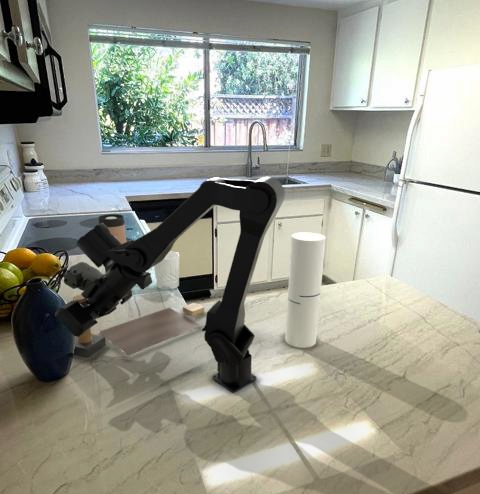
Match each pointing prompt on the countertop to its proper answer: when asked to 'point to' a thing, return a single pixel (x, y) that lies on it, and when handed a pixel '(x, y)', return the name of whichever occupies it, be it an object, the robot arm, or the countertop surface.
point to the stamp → (87, 339)
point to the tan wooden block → (193, 309)
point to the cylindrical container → (304, 288)
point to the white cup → (168, 271)
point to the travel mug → (114, 228)
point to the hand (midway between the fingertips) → (77, 324)
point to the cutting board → (148, 330)
